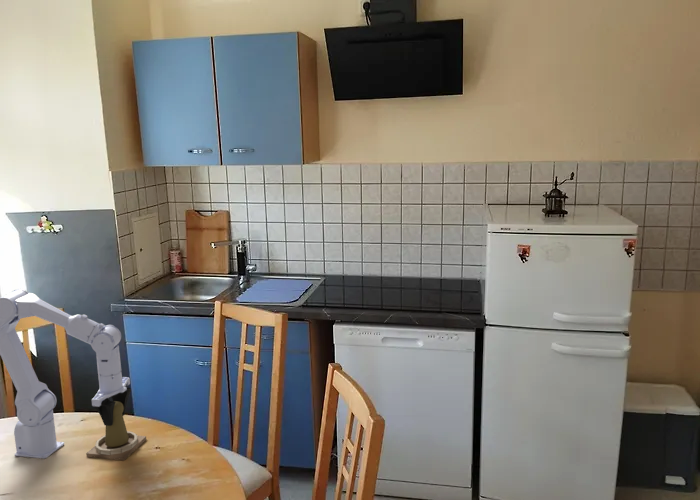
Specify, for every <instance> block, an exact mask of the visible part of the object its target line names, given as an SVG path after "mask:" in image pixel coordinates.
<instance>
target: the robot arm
mask: <svg viewBox="0 0 700 500" xmlns="http://www.w3.org/2000/svg"><path fill="white" fill-rule="evenodd" d="M29 317H30V318H31V317H36V318H39V319H42V320H43V321H45V322H46V321H47V322H49V323H52V324H54V325H56V326H60V327H62V328H64V330H65V331H66V332H65V333H66V335H69V336H71V337H73V338H75V339H77V340H79V341H81V342H84V343H86V344H88V345H90V346H91V348H92V350H93V351H94V352H95V355H96V356H95V357H96V365H97V366H96V367H97V374H98V375H97V376H98V385H99V389H98V391H97V393H96V394H95V395H94V397H93V398H91V406H92V407H94V409H95V410H96V411H97V413H98V414H99V416H100V418H101V420H102V422H103V425H104V426H106V425H107V426H111V425H113V410H114V405H115V403H116V402H114V401H119V402H121V403H122V404H123V406H124V410H123V413H122V415H123V417H124V416H125V414H126V409H127V402H128V399H129V396H130V394H131V392H132V389H131V387H127V386H129V385H131V379H130V377H129V376H128V377H127V376H123V375H122V374H123V373H122V365H121V364H122V363H121V362H122V361H121V353H120V345H119V343H120V342H121V339H122V333H121V332H122V331H121V330H119V328H118V327H116V326H115V325H113V324H107V325H105V324H104V323H102V322H100V323H99V322H97V321H95V320H93V319H90V318H88V315H86V314H74V315H71V314H69V313H67V312H65V311H64V310H61V309H60V308H58V307H56V306H54V305H52V304H50V303H48V302H47V301H44V300H43V299H41V298H40V297H38V295H36V294H35V293H33V292H29V291H27V290H26V289H23V288H17V289H14V290H12V291H11V292H9V293H8V294H5V295H3V296H0V358H1V360H2V362H3V364H4V366H5V369H6V370H7V373H8V374H9V377H10V378H11V381H12V384H13V385H14V387H15V390H16V391H17V392H16V396H15V400H14V405H15V407H16V417H17V420H18V421H17V422H16V424H15V427H14V430H13V431H14V432H13V436H14V442H15V443H14V444H15V450H16V452H15V453H14V456H16V457H23V458H24V457H25V458H32V459H33V458H35V459H47V458H49V457H50V456H51V455H52V454H54V453H55V452H56V451H57V450H59V449H60V448H61V447H62V446H64V445H65V442H64V441H57V435H56V434H57V433H56V426H55V418H54V408H55V407H56V405H57V396H56V395H55V394H54V393H53V392H52V391H51V390H50V389H49V388H48V385H47V383H44V382H42V381H40V380H39V379H38V376H37V374H36V372H35V370H34V367H33V365H32V363H31V361H30V359H29V357H28V354H27V353H26V352H27V351H26V350H25V348H24V346H23V343H22V342H21V339H20V337H19V335H18V332H17V331H16V330H17V329H16V327H17V325H18V324H19V322H20V320H21V319H25V318H26V319H27V318H29ZM109 398H111V399H112V400H111V399H109Z"/></svg>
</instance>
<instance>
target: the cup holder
mask: <svg viewBox="0 0 700 500" xmlns="http://www.w3.org/2000/svg"><path fill="white" fill-rule="evenodd" d="M127 433H128V437H129V440H128V442H126V443H125V444H123V445H120V446H116V447H108V446H106V445H105V434H104V435H103V436H101V437H100V438H98V439H97V440H96V441H95V445H94V446H93V447H92V448H90V449H89V450H88V451H87V452H86V453H85V454H86V457H87V458H95V459H108V460H115V461H116V460H118V461H125V460H127V458H128V457H130V456H131V455H132V454H133V453H134V452H135V451H137V449H138V448H139V447H140V446H141V445H143V443H144V442H145V441H146V440H147V436H146V435H138V434H137V433H135V432H133V431H130V430H129V431H128V430H127Z"/></svg>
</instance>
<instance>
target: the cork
mask: <svg viewBox="0 0 700 500" xmlns="http://www.w3.org/2000/svg"><path fill="white" fill-rule="evenodd" d="M114 402H116V403H115V405H114V410H113V425H111V426H107V425H105V434H104V435H105V445H106V446H108V447H116V446H120V445H123V444H125V443H126V442H128V440H129V437H128V433H127V431H128V429H127V426H126V424H125V419H124V416H123V415H122V413H123V410H124V406H123V404H122V403H121V402H119V401H114Z"/></svg>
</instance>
